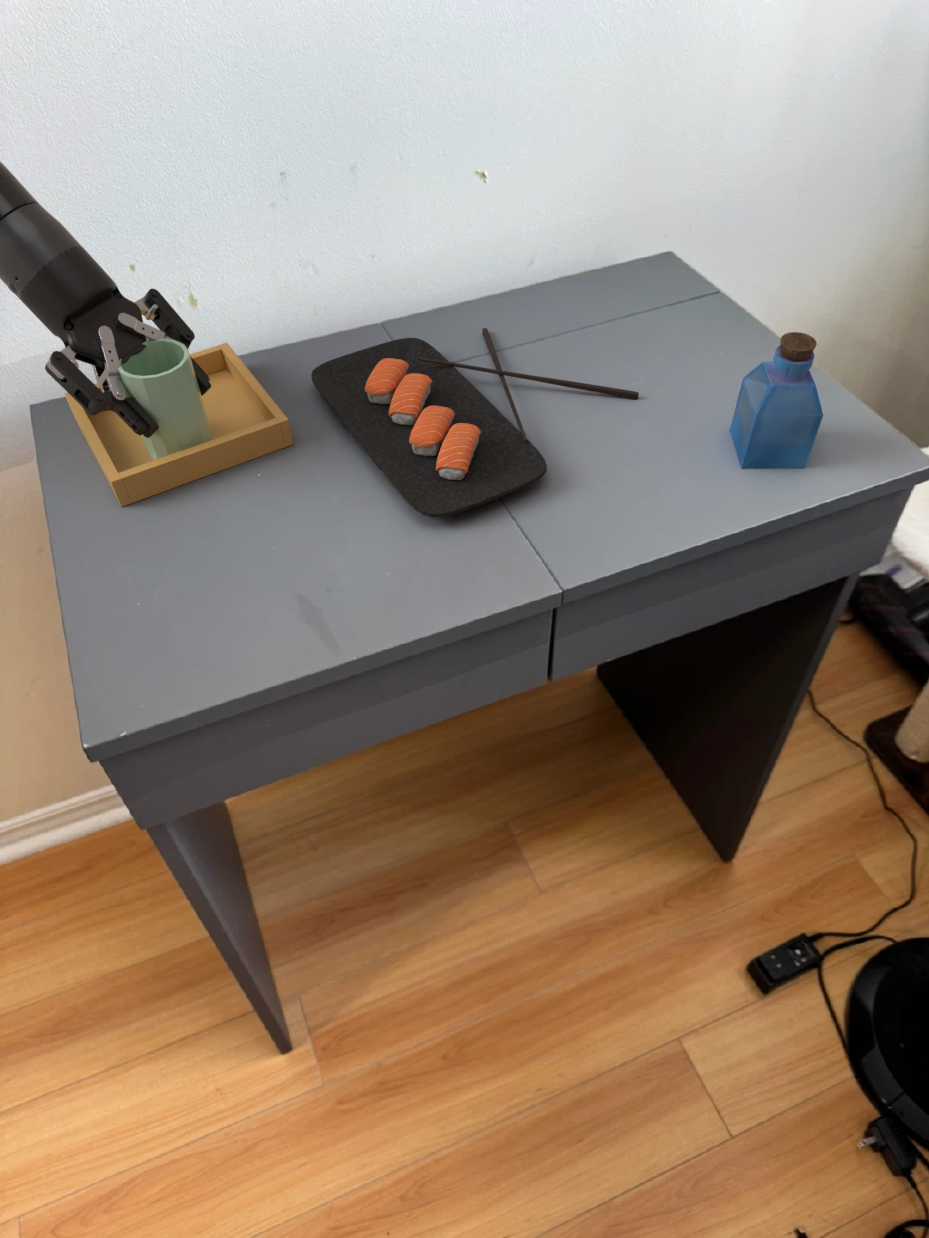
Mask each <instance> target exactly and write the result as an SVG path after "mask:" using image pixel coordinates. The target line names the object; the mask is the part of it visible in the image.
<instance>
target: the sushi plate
mask: <svg viewBox="0 0 929 1238" xmlns="http://www.w3.org/2000/svg"><path fill="white" fill-rule="evenodd" d="M481 331H482V332H481V333H482V336H483V338H484V341H485V344H486V346H487V349H488V352H489V354H490V357H491V359H492V362H493V364H494V367H495V369H494V368H488V367H483V366H482V367H481V366H476V365H469V364H463V363H457V362H451V361H449V360H448V359H447V358H446V357H445V356H444V355H443V354H441V352H440V351H438V350H437V349H436V348H435V347H434V346H432V345H431V344H430V343H428V342H427V341H425V340H423V339H421V338H417V337H403V338H398V339H393V340H390V341H386V342H382V343H380V344H376V345H373V346H370V347H367V348H363V349H360V350H357V351H353V352H351V353H347V354H345V355H342V356H338V357H336V358H333V359H331V360H330V359H329V360H328V361H325V362H323V363H321V364H319V365H317V366H316V367H315V368H314V369H313V370H312V371H311V374H310V376H311V381H312V383H313V386H314V387H315V389H316V390H317V392H318V393H319V395H320V396H321V397H322V398H323V400H324V401H325V402H326V404H327V405H328V406H329V407H330V409H331V410H332V411H333V412H334V413H335V415H336V416H337V418H338V419H339V420H340V421H341V423H342V424H343V425H344V426H345V428H346V429H347V430H348V431H349V432H350V434H351V435H352V436H353V437H354V439H355V440H356V441H357V443H358V444H359V445H360V446H361V447H362V449H363V450H364V451H365V453H366V454H367V455H368V456H369V457H370V459H371V460H372V462H374V464H375V465H376V466H377V467H378V469H379V470H380V471H381V472H382V474H383V475H384V476H385V477H386V479H387V480H388V481H389V482H390V483H391V485H392V486H393V488H395V490H396V491H397V492H398V493H399V495H400V496H401V497H402V499H404V501H406V503H408V504H409V505H410V507H411V508H412V509H414V510H415V511H417V512H418V513H419V514H421V515H423V516H425V517H429V518H445V517H449V516H454V515H456V514H457V515H458V514H460V513H464V512H465V511H469V510H471V509H474V508H476V507H480V506H482V505H485V504H487V503H489V502H492V501H494V500H497V499H499V498H502V497H505V496H507V495H510V494H512V493H515V492H516V491H519V490H521V489H524V488H526V487H528V486H529V485H532V484H533V483H535V482H537V481H538V480H540V479H541V478H542V477H544V475H545V474H546V473H547V471H548V465H547V462H546V460H545V458H544V456H543V455H542V453H541V452H540V451H539V449H538V448H536V446H535V445H534V444H533V443H532V442H531V441H530V440H529V439H528V438H527V435H526V432H525V430H524V427H523V425H522V422H521V419H520V415H519V413H518V411H517V408H516V405H515V403H514V400H513V397H512V394H511V392H510V389H509V386H508V384H507V380H506V378H505V376H506V377H511V378H512V377H513V378H517V379H522V380H529V381H532V382H533V381H534V382H540V383H545V384H550V385H555V386H560V387H565V388H571V389H575V390H581V391H582V390H583V391H587V392H592V393H593V392H594V393H599V394H604V395H610V396H615V397H621V398H626V399H632V400H638V399H639V395H640V392H638V391H634V390H629V389H622V388H616V387H609V386H604V385H599V384H591V383H585V382H578V381H572V380H565V379H558V378H551V377H545V376H539V375H532V374H525V373H519V372H512V371H508V370H507V371H506V370H503V369H502V366H501V363H500V360H499V357H498V354H497V352H496V348H495V346H494V343H493V340H492V337H491V335H490V332H489V330H488V328H487V327H482V330H481ZM457 368H461V369H466V370H473V371H478V372H484V373H489V374H495V375H498V377H499V380H500V382H501V385H502V387H503V390H504V392H505V396H506V398H507V401H508V403H509V406H510V408H511V411H512V413H513V416H514V418H515V421H516V424H517V426H518V428H517V427H516V426H515V425H514V424H513V423H512V422H511V421H510V420H509V419H508V418H507V417H506V416H505V415H503V413H502V412H500V410H499V409H498V408H497V407H496V406H494V404H493V403H491V401H490V400H489V399H487V397H486V396H484V394H482V393H481V392H480V391H479V389H477V388H476V387H475V386H474V385H473V383H471V382H470V381H469V380H468V379H467V378H466V377H465V376H464V375H463V374H462V373H461V371H459V370H458V369H457Z"/></svg>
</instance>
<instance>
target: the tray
mask: <svg viewBox="0 0 929 1238" xmlns="http://www.w3.org/2000/svg"><path fill="white" fill-rule="evenodd" d="M189 354H190V356H191V357H192V358H193V359H194V361H195V362H196V363H197V364H198V365H199V366H200V368H202V369H203V371H204V372H205V373H206V374H207V375H208V377H209V379H210V381H209V382H210V384H211V388H210V389H209V390H208V391H207V392H206V393H205V394H204V395H203V396H202V399H203V403H204V406H205V410H206V413H207V417H208V420H209V424H210V427H211V430H212V436H213V440H211V441H208V442H205V443H202V444H199V445H197V446H194V447H191V448H188V449H185V450H182V451H179V452H177V453H174V454H171V455H168V456H165V457H162V458H159V459H157V460H153V459H152V458H151V457H150V456H149V454H148V452H147V449H146V447H145V445H144V442H143V439H142V437H141V436H140V435H138V434H136V433H135V432H134V431H133V430H132V429H131V428H130V427H129V426H128V425H127V424H126V423H125V422H124V421H123V420H122V419H121V418H120V417H119V416H118V415H117V414H116V413H115V412H114V411H111V410H107V411H103V412H99V413H98V414H97V415H91V414H90V413H88V412H87V411H86V410H85V409H84V408H83V407H82V406H81V405H80V404H79V403H78V402H77V401H76V400H75V399H74V398H73V397H72V396H71V395H70V394H69V393H68V392H65V393H64V397H65V399H66V401H67V404H68V406H69V408H70V410H71V413H72V415H73V417H74V420H75V421H76V423H77V425H78V427H79V429H80V431H81V433H82V435H83V437H84V439H85V441H86V443H87V445H88V446H89V448H90V450H91V452H92V454H93V456H94V458H95V461H96V462H97V463H98V466H99V467H100V469H101V471H102V473H103V475H104V477H105V479H106V480H107V482H108V484H109V486H110V488H111V490H112V491H113V494H114V497H115V498H116V499H117V502H118V503H119V506H120V507H121V508H123V507H125V506H128V505H131V504H134V503H136V502H139V501H142V500H145V499H147V498H150V497H153V496H155V495H158V494H161V493H165V492H166V491H169V490H171V489H175V488H177V487H180V486H183V485H186V484H189V483H192V482H194V481H197V480H200V479H203V478H205V477H208V476H210V475H214V474H216V473H219V472H222V471H225V470H227V469H229V468H232V467H235V466H238V465H241V464H243V463H246V462H249V461H252V460H254V459H257V458H259V457H263V456H265V455H268V454H271V453H273V452H277V451H279V450H282V449H284V448H287V447H290V446H292V445H294V439H293V435H292V430H291V425H290V421H289V418H288V417H287V416H286V415H285V413H284V412H283V411H282V409H280V407H279V406H278V405H277V403H276V402H275V400H274V399H273V398H272V397H271V396H270V395H269V393H268V392H267V390H265V387H263V386H262V384H261V383H260V382H259V381H258V380H257V378H256V377H255V376H254V374H252V372H251V371H250V370H249V368H248V367H247V366H246V365H245V363H244V362H243V360H242V359H241V358H240V357H239V356H238V355H237V353H236V352H235V351H234V350H233V348H232V347H231V345H230V344H229V343H228V342H223V343H221V344H218V345H215V346H212V347H208V348H205V349H201V350H199V351H196V352H193V353H189ZM94 384H95V385H96V386H97V387H98V388H99V386H98V384H97V383H94ZM99 389H100V390H101V388H99ZM101 391H102V390H101ZM126 397H127V395H126Z"/></svg>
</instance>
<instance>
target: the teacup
mask: <svg viewBox="0 0 929 1238" xmlns="http://www.w3.org/2000/svg"><path fill="white" fill-rule="evenodd" d="M143 345H145V346H146V348H144V350H143V351H141V352H140V353H139V354H137V355H133V356H131V357H130V358H129V360H128V361H127V362H126V363H125V364H122V361H121V359H120V360H119V362H120V366H121V367H120V368H118V371H119V373H120V376H121V379H122V381H123V384H124V388H125V392H126V395H127V398H129V397H130V396H131V397H132V398H133V399H134V400H135V401H136V402H137V403H138V404H139V405H140V406H141V407H142V408H143V409H144V410H145V411H146V412H147V413H148V415H149V416H150V417H151V418H152V419H153V420H154V421H155V422H156V423H157V424H158V426H159V429H158V430H157V431H156V432H155V433H154V434H153V435H152V436H151V437H149V438H146V437H145V436H144V435H141V437H142V439H143V442H144V445H145V447H146V449H147V452H148V454H149V456H150V457H151V458H152V459H153V460H157V459H159V458H162V457H165V456H168V455H171V454H174V453H177V452H179V451H182V450H185V449H188V448H191V447H194V446H197V445H199V444H202V443H205V442H208V441H211V440H213V436H212V430H211V427H210V424H209V420H208V417H207V413H206V410H205V406H204V403H203V399H202V396H201V392H200V389H199V385H198V382H197V378H196V375H195V371H194V368H193V365H192V361H191V358H190V354H191V353H190V350H189V348H188V349H187V348H186V347H185V345H184V344H182V343H180V342H178V341H175V340H170V339H159V340H158V341H155V340H148V339H147V340H146V341H145V342H144V343H143Z"/></svg>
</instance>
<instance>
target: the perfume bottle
mask: <svg viewBox="0 0 929 1238" xmlns="http://www.w3.org/2000/svg"><path fill="white" fill-rule="evenodd" d="M817 345H818V344H817V340H816V339H815V337H813V336H812V335H809V334H807V333H806V332H805V333H804V332H799V331H792V332H791V331H789V332H785V333H784V334H783V335H781V337H780V345H779V346H777V347H776V349H775V351H774V354H773V359H772V361H761V363H759V364H758V365H756V367H754V368H753V369H752V370H751V371H750V372H748V373H747V374H746V375H745V376H743V377H742V380H741V384H740V388H739V392H738V396H737V400H736V404H735V408H734V411H733V415H732V420H731V424H730V427H729V433H730V436H731V439H732V442H733V446H734V449H735V452H736V456H737V459H738V462H739V465H740V468H741V469H806V466H807V464H808V461H809V459H810V458H809V457H810V455H811V452H812V449H813V447H814V443H815V441H816V438H817V434H818V432H819V429H820V426H821V423H822V421H823V417H824V412H823V409H822V403H821V400H820V396H819V392H818V388H817V385H816V382H815V380H814V378H813V376H812V373H811V371H810V369H811V368H812V366H813V364H814V359H815V353H814V350H815V348H816V347H817Z"/></svg>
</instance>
